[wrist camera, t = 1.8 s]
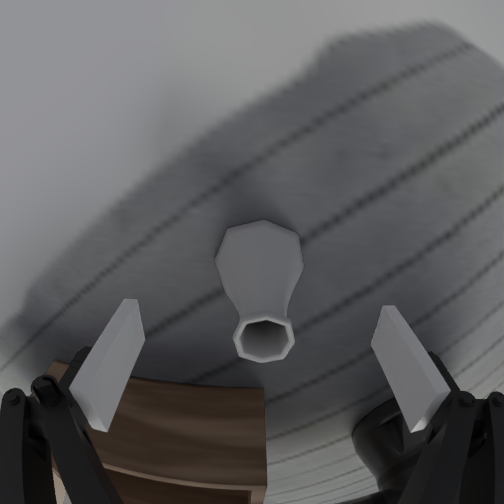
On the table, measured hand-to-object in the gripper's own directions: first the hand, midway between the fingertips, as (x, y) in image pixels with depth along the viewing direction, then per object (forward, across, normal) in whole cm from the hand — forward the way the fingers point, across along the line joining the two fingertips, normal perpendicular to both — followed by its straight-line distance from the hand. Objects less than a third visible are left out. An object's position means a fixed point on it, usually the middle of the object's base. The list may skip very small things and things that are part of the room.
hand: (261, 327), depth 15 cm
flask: (+10, 0, +1) cm, 10 cm away
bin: (+9, +12, +24) cm, 28 cm away
